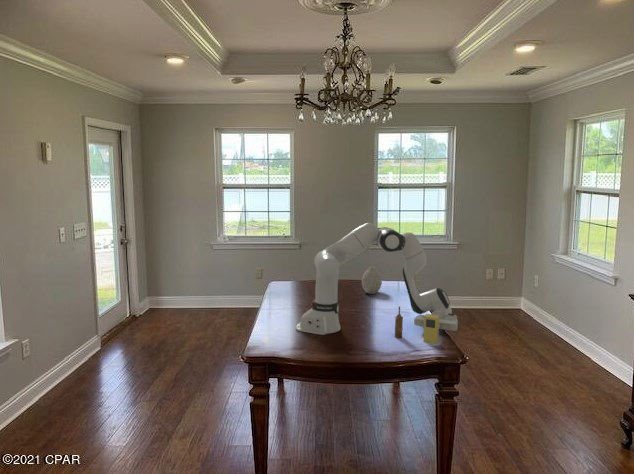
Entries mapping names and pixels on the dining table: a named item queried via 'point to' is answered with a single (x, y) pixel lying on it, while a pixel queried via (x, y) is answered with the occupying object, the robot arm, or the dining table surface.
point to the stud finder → (431, 328)
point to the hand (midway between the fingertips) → (432, 327)
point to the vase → (371, 280)
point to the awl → (398, 325)
